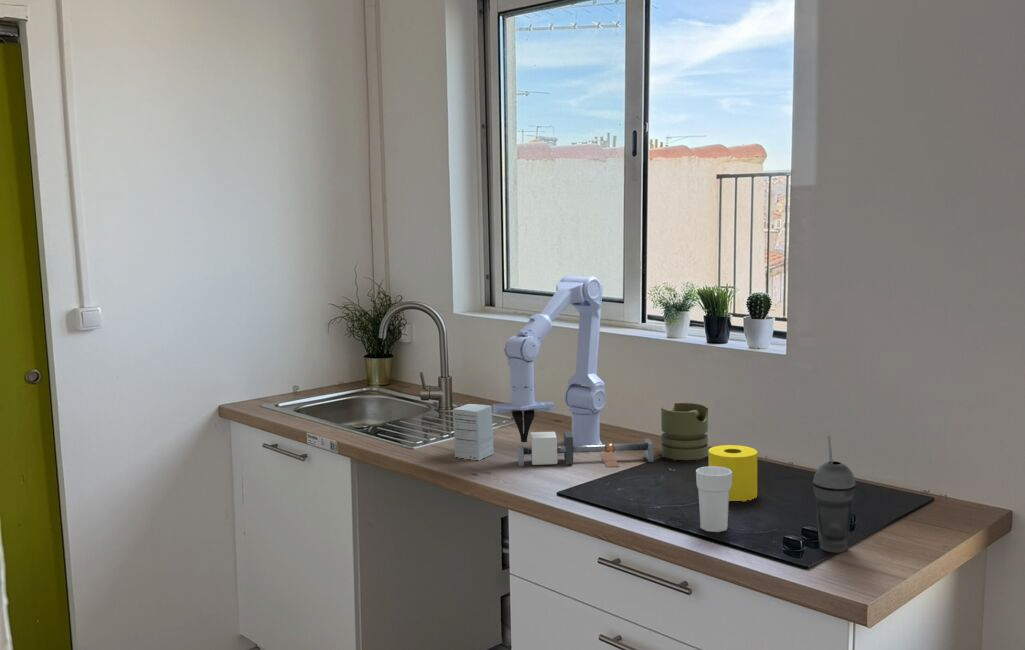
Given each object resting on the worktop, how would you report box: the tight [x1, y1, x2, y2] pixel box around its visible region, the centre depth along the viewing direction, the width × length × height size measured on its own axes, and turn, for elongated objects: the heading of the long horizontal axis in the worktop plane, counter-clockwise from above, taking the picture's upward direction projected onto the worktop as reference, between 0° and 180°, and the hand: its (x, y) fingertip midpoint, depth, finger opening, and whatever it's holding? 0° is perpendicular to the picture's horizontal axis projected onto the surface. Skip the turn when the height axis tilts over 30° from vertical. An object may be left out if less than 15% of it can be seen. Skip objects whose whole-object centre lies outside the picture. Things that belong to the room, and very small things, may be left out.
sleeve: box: [529, 431, 558, 466], centre depth 225 cm, size 6×6×6 cm
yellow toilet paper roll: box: [707, 444, 758, 502], centre depth 196 cm, size 10×10×9 cm
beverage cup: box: [812, 435, 857, 553], centre depth 163 cm, size 7×7×20 cm
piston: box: [660, 402, 709, 460], centre depth 229 cm, size 11×12×11 cm
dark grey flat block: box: [563, 430, 574, 465], centre depth 225 cm, size 2×7×6 cm, turn 2°
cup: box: [695, 465, 732, 533], centre depth 176 cm, size 7×7×11 cm
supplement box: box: [452, 403, 495, 462], centre depth 233 cm, size 7×7×13 cm
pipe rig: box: [517, 438, 654, 468], centre depth 226 cm, size 32×11×4 cm, turn 92°
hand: (523, 441), depth 225 cm, fingers closed
